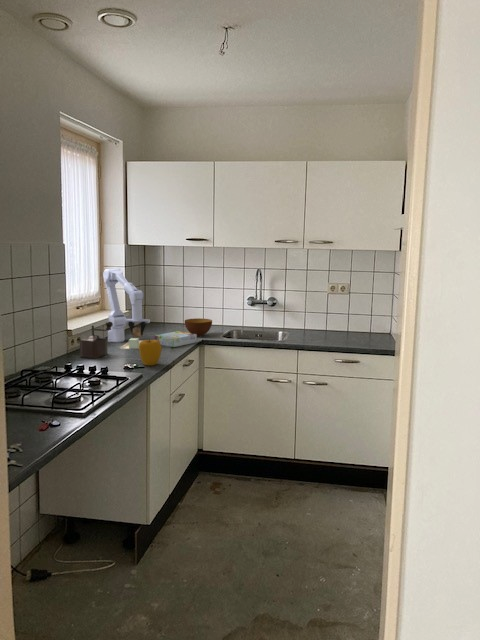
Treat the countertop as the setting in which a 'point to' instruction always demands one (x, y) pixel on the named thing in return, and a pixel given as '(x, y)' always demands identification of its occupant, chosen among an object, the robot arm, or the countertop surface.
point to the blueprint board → (128, 345)
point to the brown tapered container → (94, 344)
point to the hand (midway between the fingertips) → (137, 334)
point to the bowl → (198, 326)
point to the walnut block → (137, 332)
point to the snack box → (176, 338)
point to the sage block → (134, 343)
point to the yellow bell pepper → (150, 352)
